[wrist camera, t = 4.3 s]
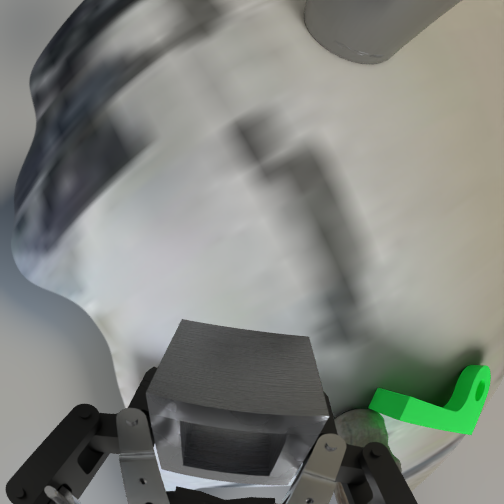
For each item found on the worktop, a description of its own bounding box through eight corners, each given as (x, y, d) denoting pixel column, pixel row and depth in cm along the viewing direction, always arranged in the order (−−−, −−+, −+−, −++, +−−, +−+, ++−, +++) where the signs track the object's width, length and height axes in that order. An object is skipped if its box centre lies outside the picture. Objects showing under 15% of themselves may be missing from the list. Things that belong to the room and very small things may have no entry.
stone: (366, 463, 30) (387, 533, 16) (324, 473, 31) (336, 547, 16) (379, 391, 26) (425, 490, 11) (321, 407, 27) (346, 518, 12)
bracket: (459, 369, 30) (494, 371, 24) (437, 426, 27) (471, 434, 21) (390, 326, 28) (436, 325, 21) (357, 403, 25) (400, 420, 18)
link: (182, 319, 12) (145, 392, 7) (308, 336, 12) (329, 416, 7) (182, 402, 14) (161, 469, 9) (283, 415, 14) (287, 485, 9)
